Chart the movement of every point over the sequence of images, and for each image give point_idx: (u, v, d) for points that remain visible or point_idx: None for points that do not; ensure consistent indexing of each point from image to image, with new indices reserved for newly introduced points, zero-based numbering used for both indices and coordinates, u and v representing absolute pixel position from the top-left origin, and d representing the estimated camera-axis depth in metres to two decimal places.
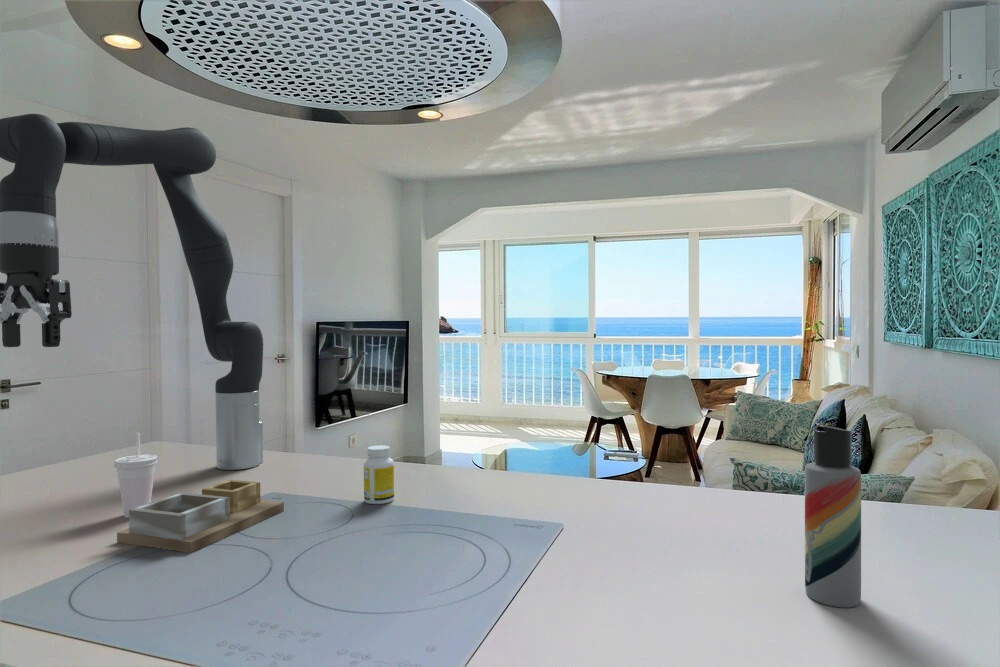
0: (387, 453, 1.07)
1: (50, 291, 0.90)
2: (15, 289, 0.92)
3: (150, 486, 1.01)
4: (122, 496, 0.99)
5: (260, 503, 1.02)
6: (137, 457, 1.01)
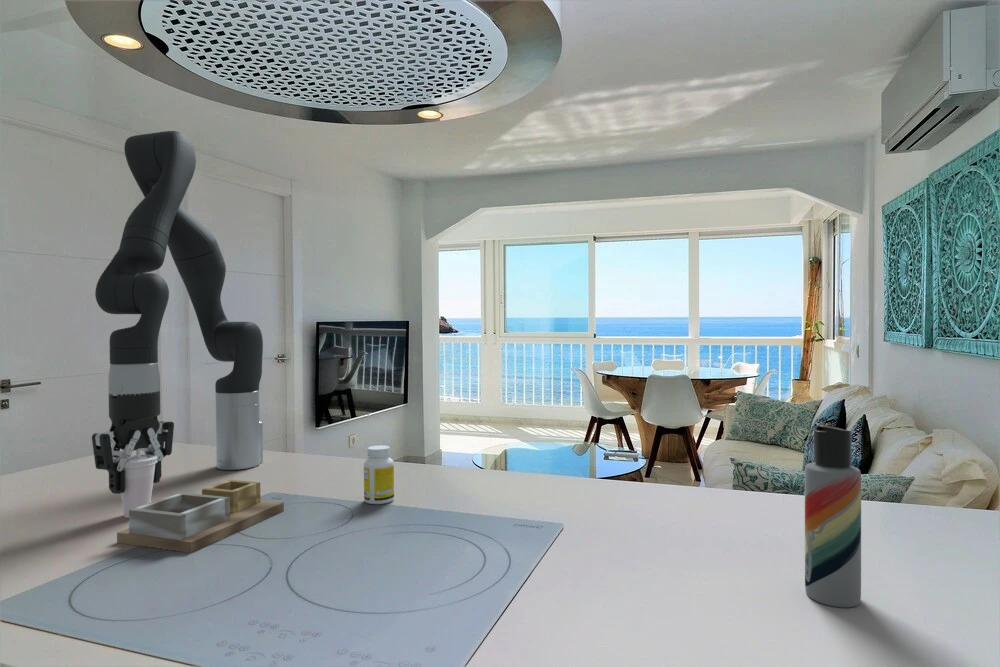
0: (387, 453, 1.07)
1: (169, 432, 1.06)
2: None
3: (150, 486, 1.01)
4: (122, 496, 0.99)
5: (260, 503, 1.02)
6: (137, 457, 1.01)
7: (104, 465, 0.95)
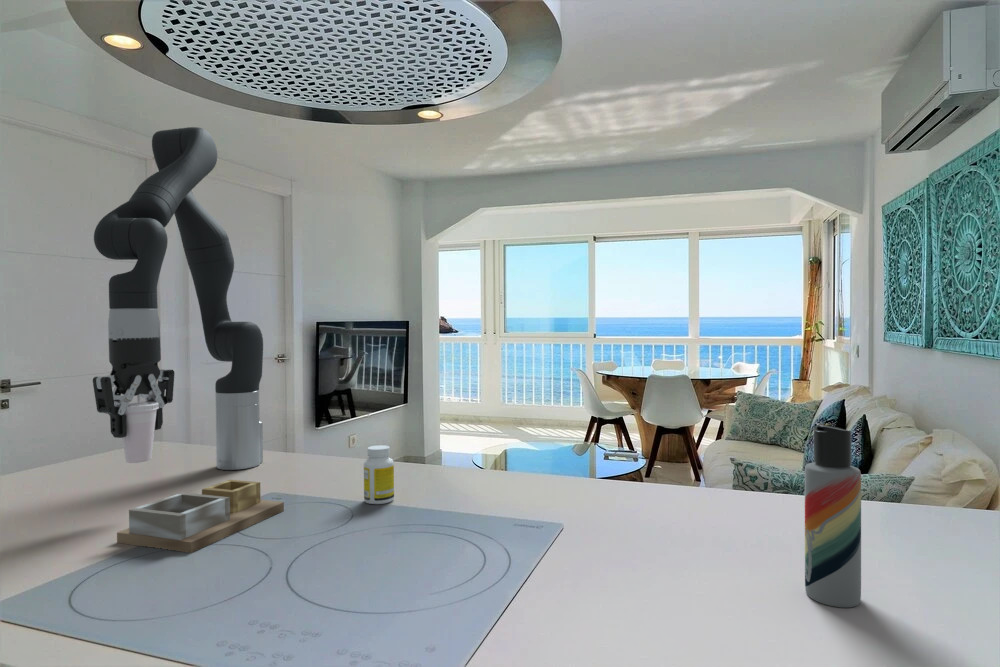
0: (387, 453, 1.07)
1: (169, 379, 1.06)
2: None
3: (152, 432, 1.01)
4: (124, 441, 1.00)
5: (260, 503, 1.02)
6: (138, 403, 1.01)
7: (105, 408, 0.95)
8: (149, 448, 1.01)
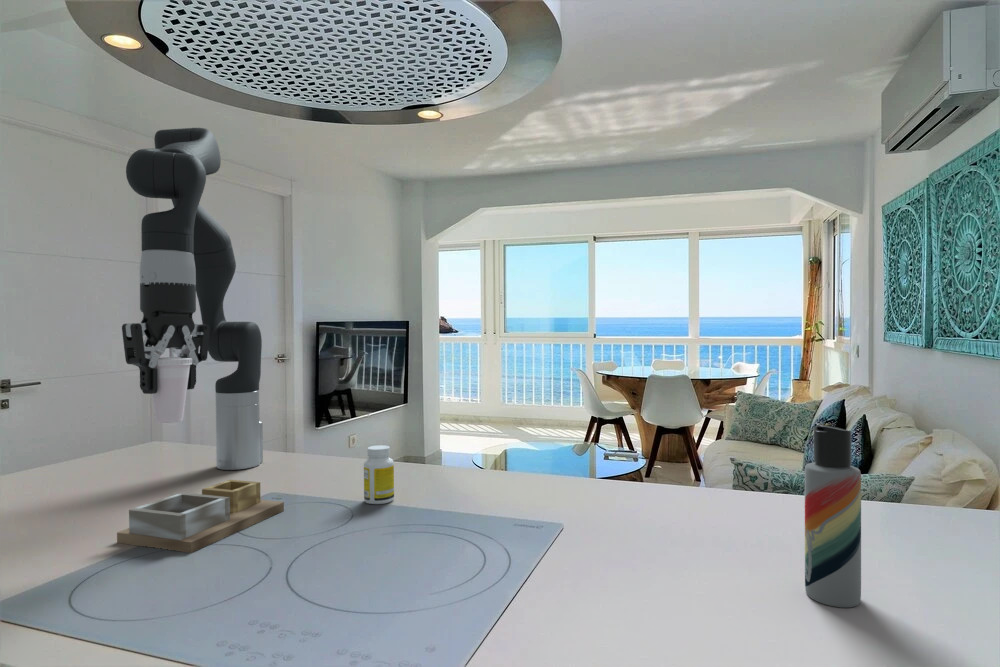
0: (387, 453, 1.07)
1: (204, 335, 0.96)
2: None
3: (184, 390, 0.91)
4: (154, 398, 0.89)
5: (260, 503, 1.02)
6: (170, 357, 0.91)
7: (135, 358, 0.85)
8: (181, 408, 0.91)
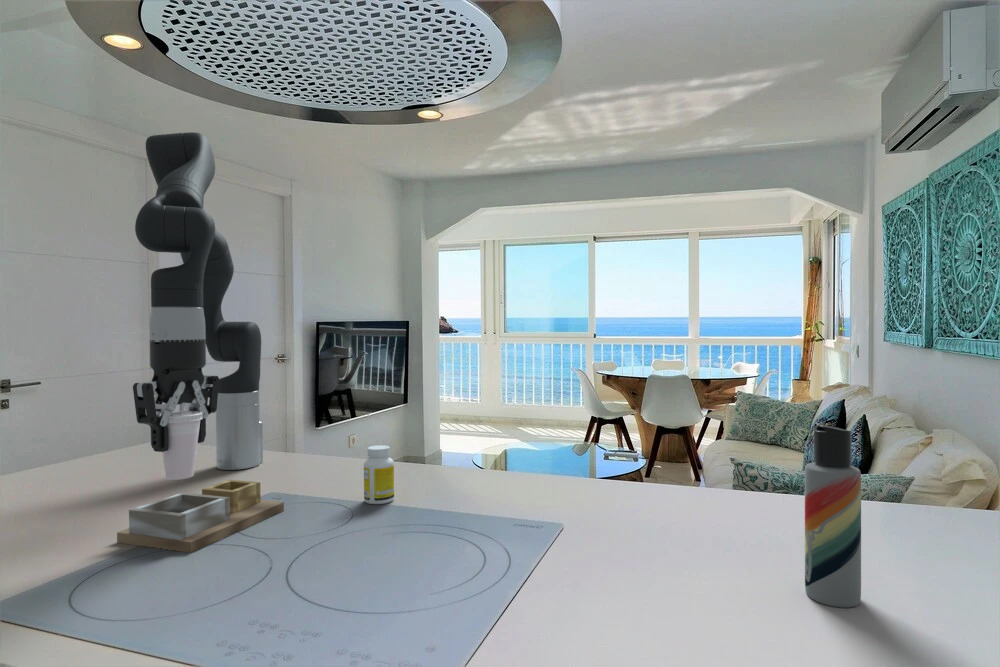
0: (387, 453, 1.07)
1: (214, 387, 0.96)
2: None
3: (195, 445, 0.91)
4: (164, 455, 0.89)
5: (260, 503, 1.02)
6: (181, 412, 0.90)
7: (147, 418, 0.84)
8: (192, 463, 0.90)
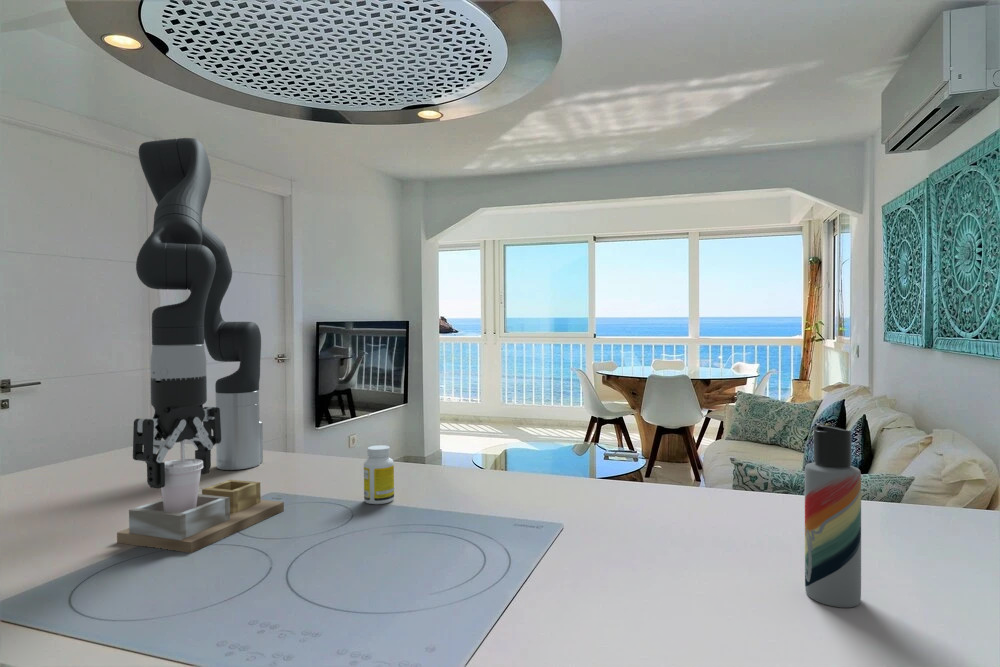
0: (387, 453, 1.07)
1: (216, 418, 0.96)
2: None
3: (196, 494, 0.91)
4: (165, 505, 0.89)
5: (260, 503, 1.02)
6: (181, 462, 0.91)
7: (143, 455, 0.84)
8: None
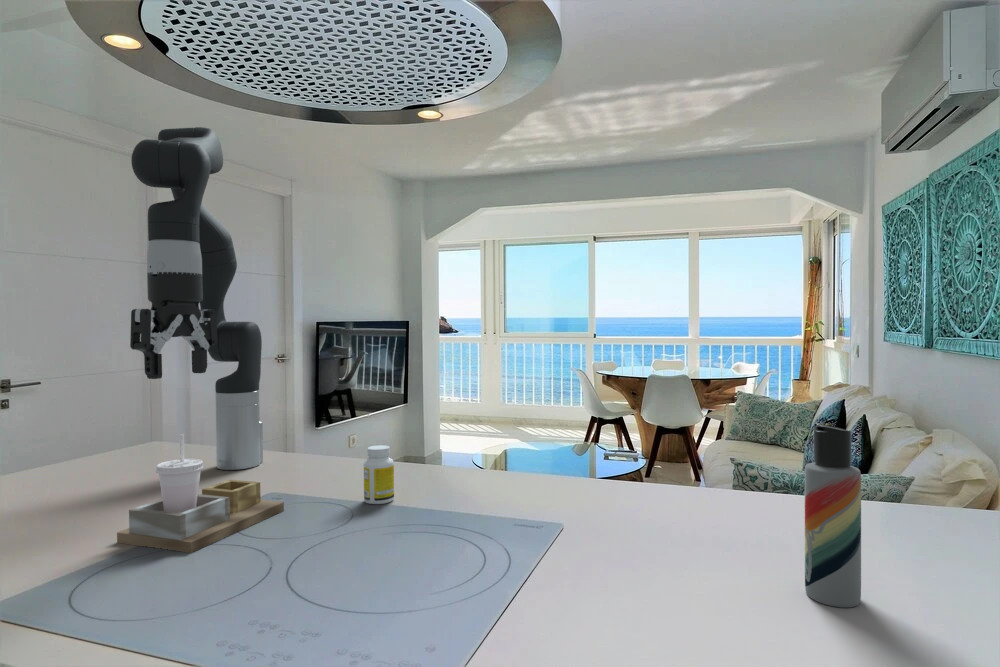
0: (387, 453, 1.07)
1: (212, 320, 0.98)
2: None
3: (195, 494, 0.91)
4: (165, 505, 0.89)
5: (260, 503, 1.02)
6: (181, 462, 0.91)
7: (140, 343, 0.85)
8: None
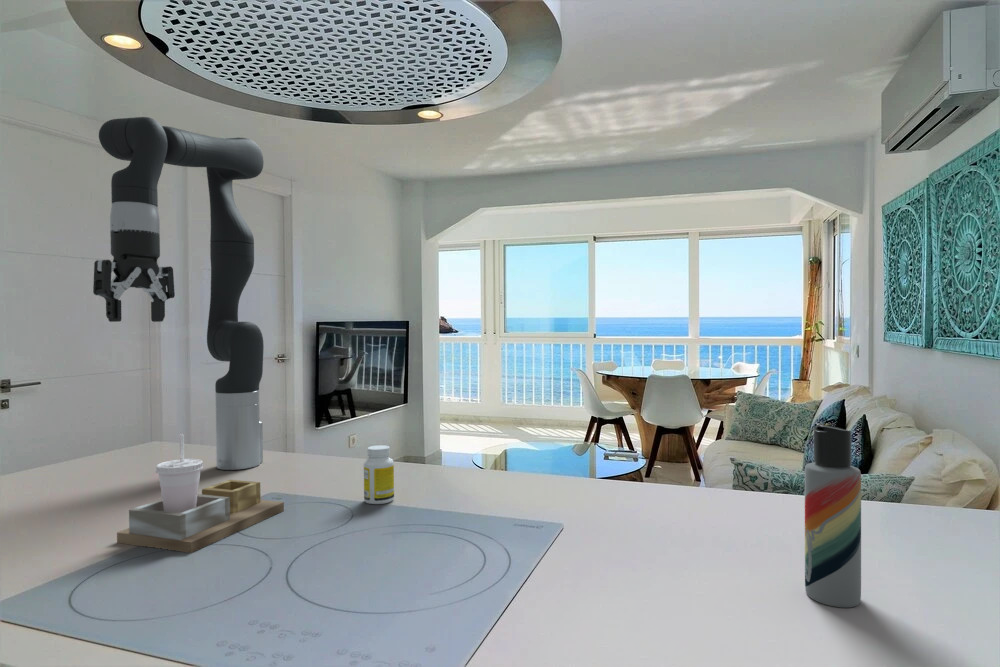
0: (387, 453, 1.07)
1: (169, 276, 1.11)
2: None
3: (195, 494, 0.91)
4: (165, 506, 0.89)
5: (260, 503, 1.02)
6: (181, 462, 0.90)
7: (102, 289, 0.99)
8: None
